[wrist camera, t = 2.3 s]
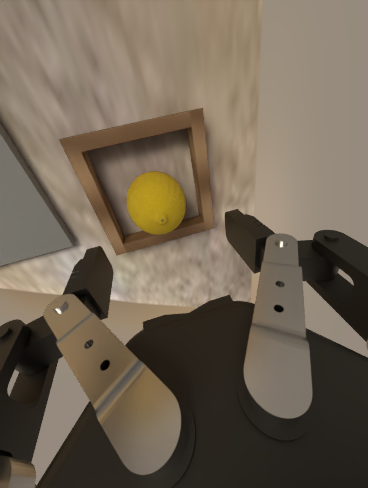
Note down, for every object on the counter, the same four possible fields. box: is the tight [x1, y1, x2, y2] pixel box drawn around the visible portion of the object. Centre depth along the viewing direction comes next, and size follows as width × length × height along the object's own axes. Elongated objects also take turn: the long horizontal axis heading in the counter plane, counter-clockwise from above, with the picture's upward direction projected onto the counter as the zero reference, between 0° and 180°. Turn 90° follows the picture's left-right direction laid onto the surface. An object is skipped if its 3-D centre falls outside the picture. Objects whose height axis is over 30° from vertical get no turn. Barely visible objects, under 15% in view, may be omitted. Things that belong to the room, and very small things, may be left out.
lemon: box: [126, 171, 186, 235], centre depth 18 cm, size 6×6×8 cm
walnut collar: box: [59, 108, 214, 255], centre depth 20 cm, size 12×12×2 cm
